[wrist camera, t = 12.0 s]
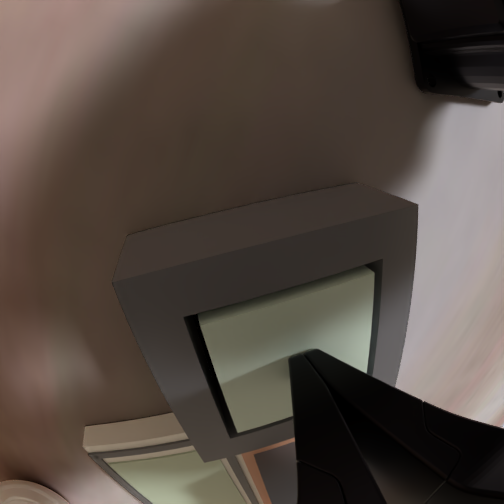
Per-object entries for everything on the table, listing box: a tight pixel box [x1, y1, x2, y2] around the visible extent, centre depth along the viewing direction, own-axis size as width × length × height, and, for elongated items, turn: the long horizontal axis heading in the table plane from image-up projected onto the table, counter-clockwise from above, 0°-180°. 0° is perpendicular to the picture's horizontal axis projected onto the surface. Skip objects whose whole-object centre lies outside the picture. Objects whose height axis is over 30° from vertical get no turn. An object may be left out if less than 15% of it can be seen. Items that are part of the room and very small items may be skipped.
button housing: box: [112, 183, 418, 463], centre depth 9 cm, size 7×7×3 cm
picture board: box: [83, 413, 295, 504], centre depth 14 cm, size 12×16×1 cm
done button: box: [198, 265, 375, 433], centre depth 9 cm, size 4×4×2 cm
